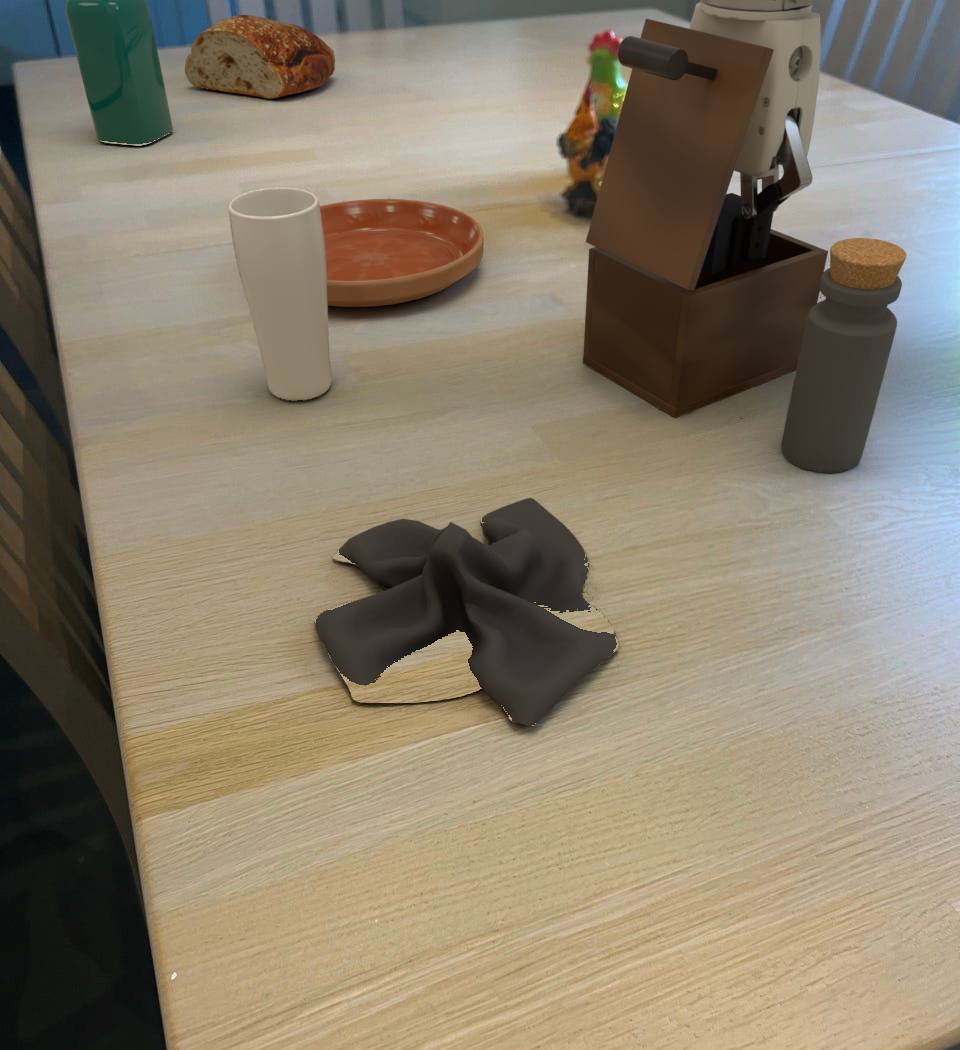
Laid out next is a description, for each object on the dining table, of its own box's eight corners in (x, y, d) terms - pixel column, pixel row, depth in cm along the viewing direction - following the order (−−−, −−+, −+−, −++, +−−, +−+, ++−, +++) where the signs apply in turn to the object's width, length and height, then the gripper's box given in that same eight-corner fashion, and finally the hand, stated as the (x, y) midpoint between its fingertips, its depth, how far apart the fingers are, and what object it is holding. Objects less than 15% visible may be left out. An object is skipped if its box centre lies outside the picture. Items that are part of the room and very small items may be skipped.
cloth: (620, 738, 54) (630, 653, 50) (280, 720, 55) (262, 636, 51) (616, 503, 71) (622, 425, 66) (353, 494, 72) (344, 416, 68)
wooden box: (707, 319, 93) (722, 209, 86) (803, 367, 85) (828, 250, 79) (582, 363, 87) (588, 248, 80) (674, 418, 79) (690, 296, 73)
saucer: (212, 300, 98) (204, 262, 95) (324, 221, 113) (320, 186, 111) (429, 335, 91) (426, 295, 89) (516, 246, 107) (516, 210, 104)
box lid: (653, 20, 72) (596, 3, 69) (774, 49, 65) (717, 31, 62) (592, 242, 80) (538, 237, 77) (694, 290, 73) (639, 286, 69)
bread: (184, 89, 158) (170, 15, 152) (265, 65, 169) (256, -5, 163) (280, 107, 149) (270, 30, 143) (359, 81, 160) (353, 7, 154)
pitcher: (145, 149, 135) (102, -49, 120) (92, 144, 137) (42, -51, 122) (184, 128, 142) (147, -61, 127) (132, 124, 144) (90, -63, 129)
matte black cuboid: (724, 240, 83) (731, 192, 81) (766, 257, 80) (774, 208, 78) (670, 256, 81) (675, 207, 78) (710, 275, 78) (717, 224, 75)
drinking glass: (298, 362, 87) (272, 180, 78) (358, 382, 84) (338, 196, 75) (242, 393, 83) (206, 206, 73) (302, 416, 80) (274, 224, 70)
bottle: (877, 466, 74) (935, 261, 64) (805, 479, 72) (853, 273, 62) (834, 427, 78) (882, 229, 68) (765, 439, 77) (804, 240, 67)
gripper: (897, -3, 65) (834, 278, 77) (710, -37, 75) (681, 215, 87) (816, 12, 62) (764, 302, 74) (633, -26, 72) (614, 233, 84)
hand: (719, 252), depth 80 cm, fingers closed on matte black cuboid, 4 cm apart
